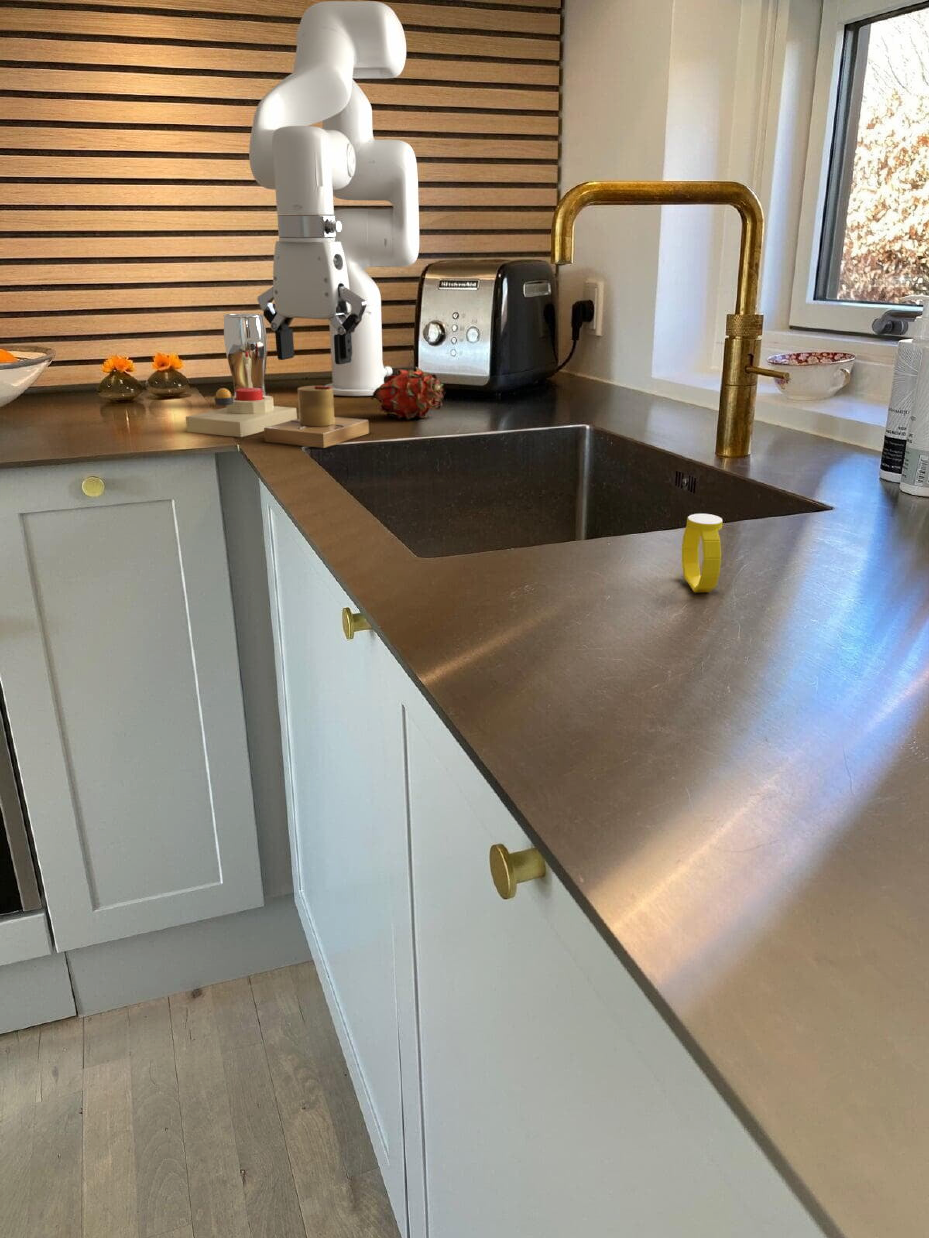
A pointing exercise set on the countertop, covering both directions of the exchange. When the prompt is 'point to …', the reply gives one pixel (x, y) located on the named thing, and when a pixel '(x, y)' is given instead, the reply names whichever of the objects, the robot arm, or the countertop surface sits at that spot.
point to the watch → (711, 551)
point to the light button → (249, 394)
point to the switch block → (241, 418)
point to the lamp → (223, 397)
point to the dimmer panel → (316, 432)
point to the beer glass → (246, 349)
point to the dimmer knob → (316, 405)
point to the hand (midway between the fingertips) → (314, 361)
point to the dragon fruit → (410, 394)
